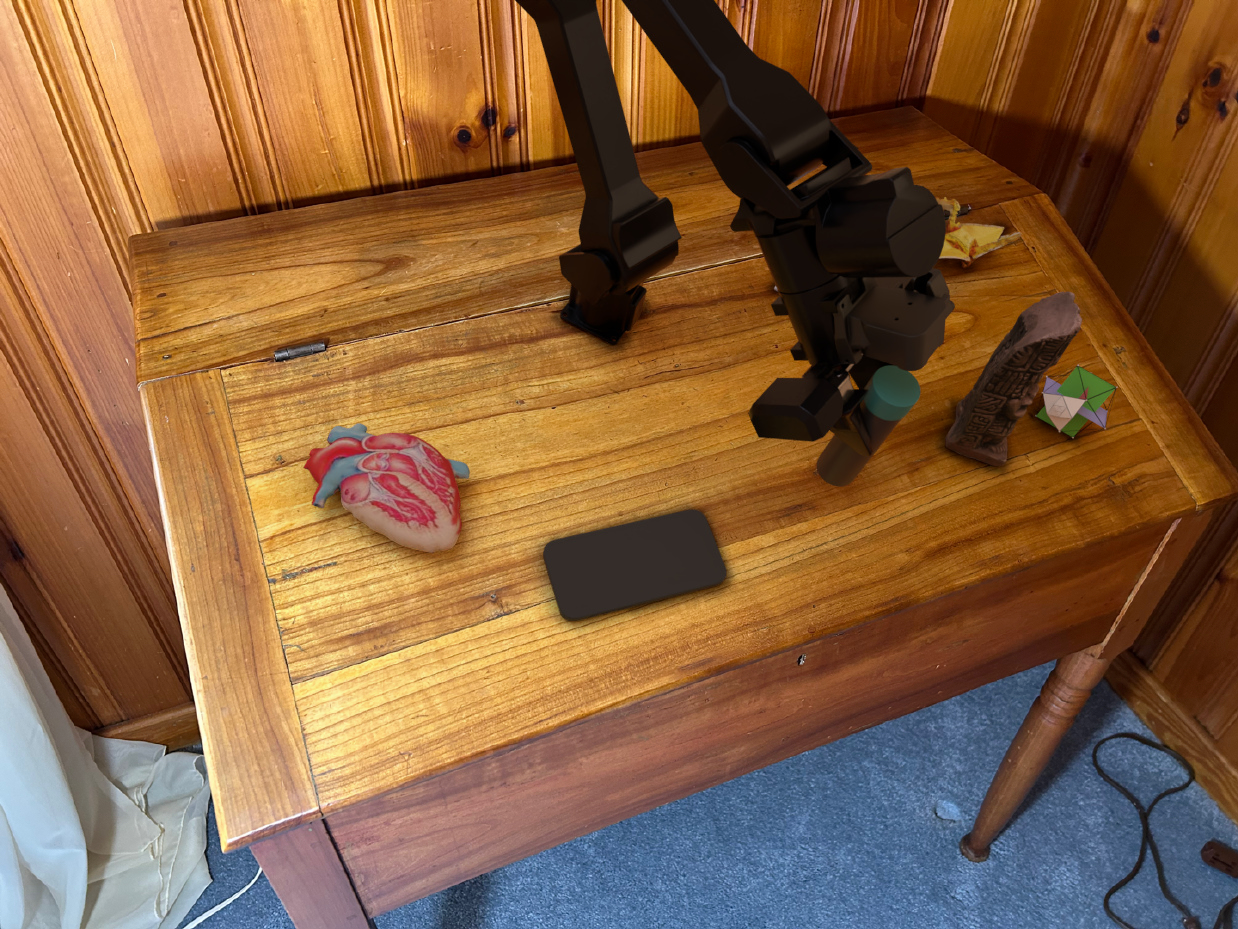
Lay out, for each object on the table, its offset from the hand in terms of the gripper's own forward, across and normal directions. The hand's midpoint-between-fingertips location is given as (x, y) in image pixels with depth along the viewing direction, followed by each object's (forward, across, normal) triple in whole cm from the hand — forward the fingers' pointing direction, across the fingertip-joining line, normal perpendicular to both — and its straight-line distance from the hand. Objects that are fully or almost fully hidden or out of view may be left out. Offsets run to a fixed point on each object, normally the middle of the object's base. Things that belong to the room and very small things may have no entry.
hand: (878, 439), depth 75 cm
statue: (+13, +17, +4) cm, 22 cm away
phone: (+2, -17, +16) cm, 23 cm away
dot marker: (+4, 0, +6) cm, 7 cm away
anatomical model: (-12, -26, +30) cm, 41 cm away
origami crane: (+4, +38, +13) cm, 41 cm away
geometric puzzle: (+18, +26, 0) cm, 31 cm away
